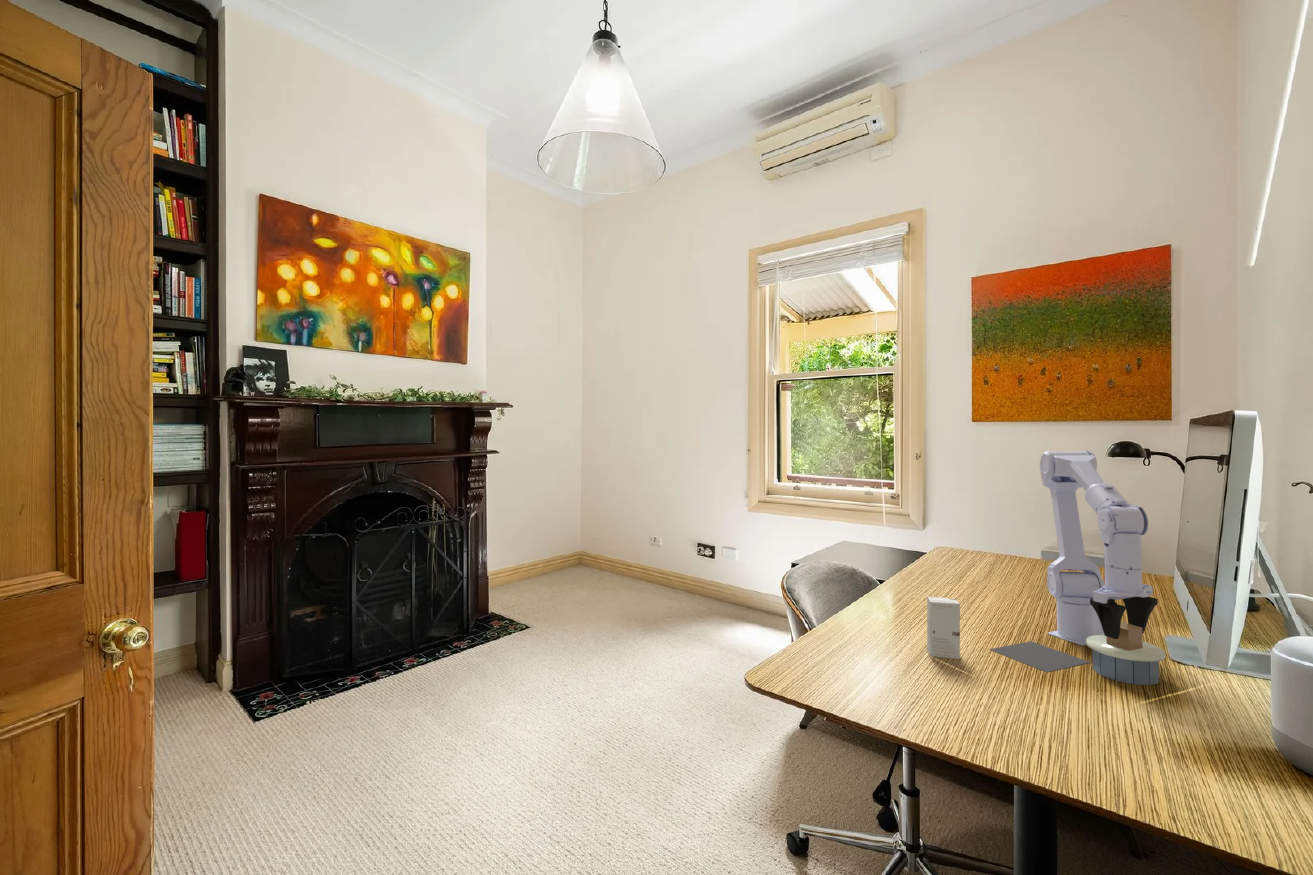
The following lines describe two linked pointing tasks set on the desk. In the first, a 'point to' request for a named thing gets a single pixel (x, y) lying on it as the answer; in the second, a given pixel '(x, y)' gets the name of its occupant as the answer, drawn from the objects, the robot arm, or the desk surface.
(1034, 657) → the mat
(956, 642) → the skincare box
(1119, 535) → the robot arm
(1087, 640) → the lid
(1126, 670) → the bowl
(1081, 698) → the desk surface
